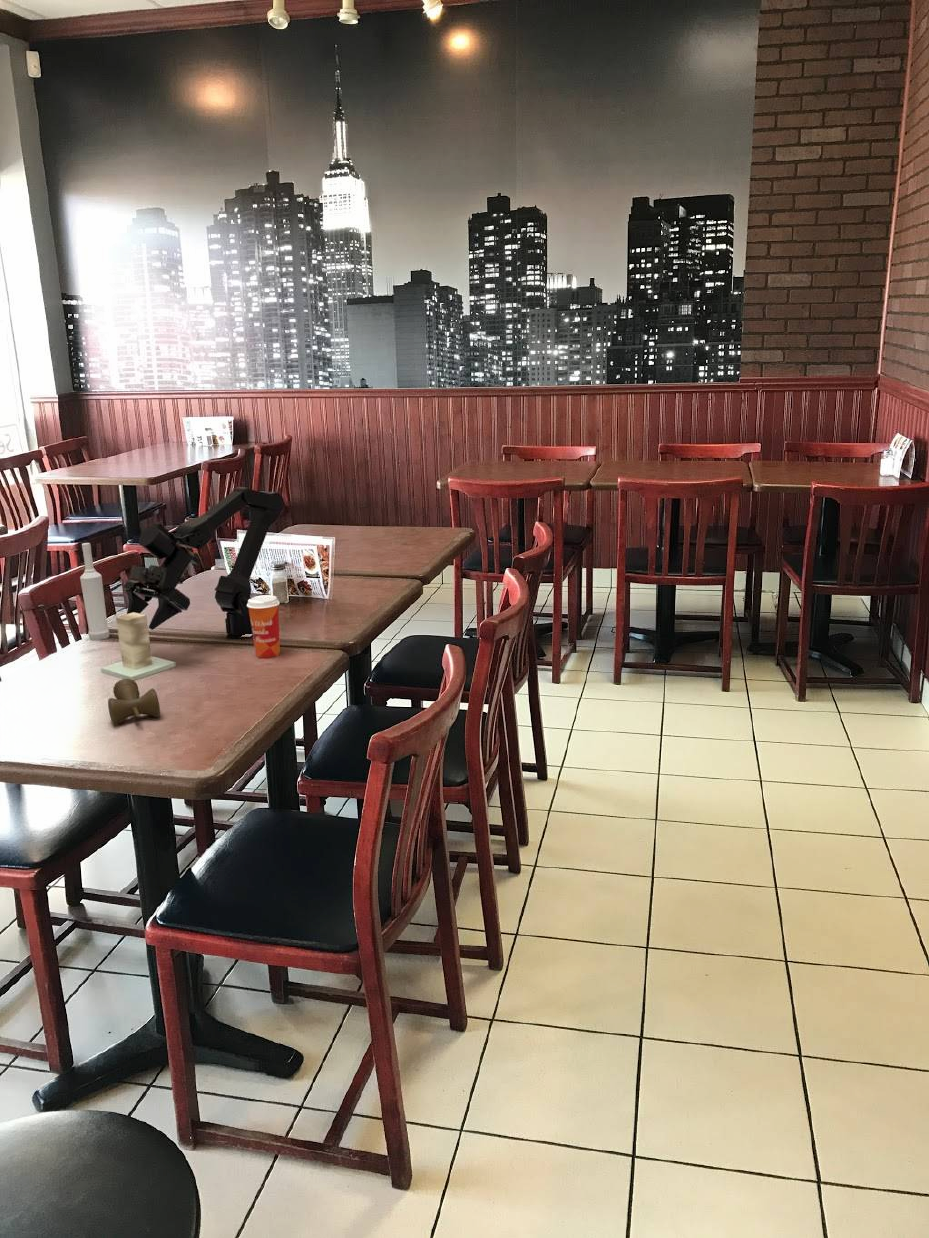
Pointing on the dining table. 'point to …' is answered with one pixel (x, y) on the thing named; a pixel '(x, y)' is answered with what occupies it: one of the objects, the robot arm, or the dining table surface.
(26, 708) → the dining table surface
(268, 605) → the paper cup
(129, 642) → the birch block
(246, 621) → the robot arm
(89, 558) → the bottle
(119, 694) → the kendama
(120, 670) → the sage pad
